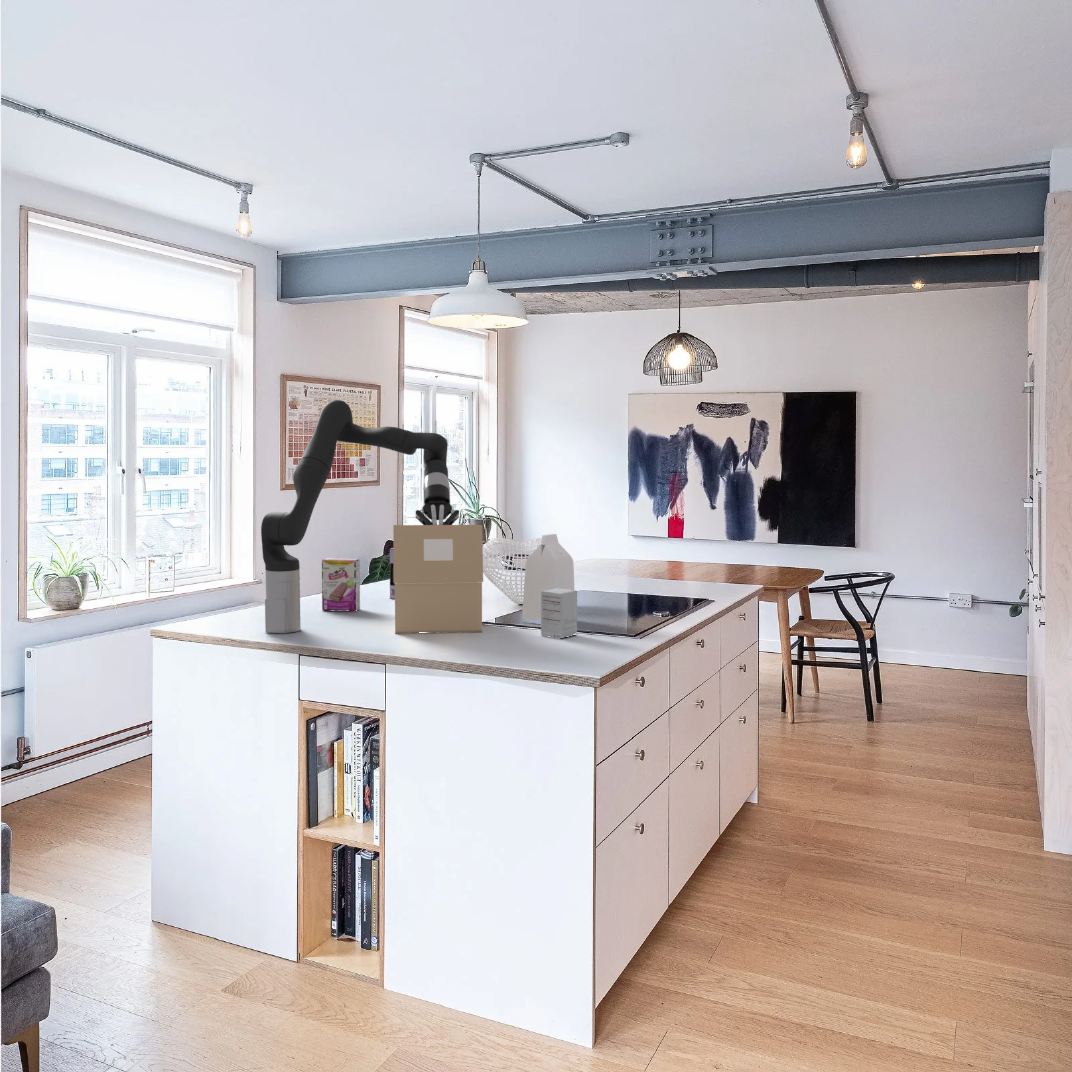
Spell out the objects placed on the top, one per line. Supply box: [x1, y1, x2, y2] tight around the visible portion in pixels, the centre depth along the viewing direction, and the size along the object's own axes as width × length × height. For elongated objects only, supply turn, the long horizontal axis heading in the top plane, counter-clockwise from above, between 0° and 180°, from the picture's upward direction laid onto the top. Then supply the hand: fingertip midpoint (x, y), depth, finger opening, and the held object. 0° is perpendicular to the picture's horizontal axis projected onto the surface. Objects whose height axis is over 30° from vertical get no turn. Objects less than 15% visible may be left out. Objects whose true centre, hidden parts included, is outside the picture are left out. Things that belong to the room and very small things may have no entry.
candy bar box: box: [321, 557, 361, 612], centre depth 301 cm, size 11×5×16 cm, turn 84°
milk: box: [521, 533, 575, 620], centre depth 282 cm, size 12×12×26 cm
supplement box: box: [540, 588, 578, 639], centre depth 261 cm, size 7×7×13 cm
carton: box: [394, 582, 483, 635], centre depth 271 cm, size 16×24×14 cm, turn 97°
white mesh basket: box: [483, 537, 542, 605], centre depth 312 cm, size 28×16×22 cm, turn 90°
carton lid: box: [392, 524, 484, 583], centre depth 264 cm, size 16×25×1 cm
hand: (438, 538), depth 265 cm, fingers closed
